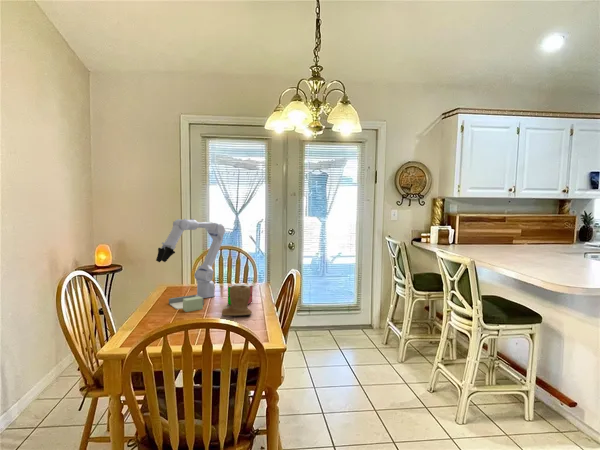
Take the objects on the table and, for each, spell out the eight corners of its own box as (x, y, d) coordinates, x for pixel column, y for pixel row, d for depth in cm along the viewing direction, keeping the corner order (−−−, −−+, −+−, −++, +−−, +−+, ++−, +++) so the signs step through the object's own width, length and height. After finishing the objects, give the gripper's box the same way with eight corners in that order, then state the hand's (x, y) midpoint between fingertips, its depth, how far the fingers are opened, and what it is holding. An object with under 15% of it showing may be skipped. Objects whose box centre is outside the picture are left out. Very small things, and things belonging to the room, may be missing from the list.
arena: (194, 299, 221) (194, 294, 221) (203, 305, 212) (203, 299, 212) (168, 304, 212) (168, 298, 212) (176, 309, 203) (176, 304, 203)
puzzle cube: (252, 302, 219) (252, 285, 218) (242, 307, 210) (243, 289, 209) (237, 300, 224) (237, 283, 223) (227, 304, 214) (227, 286, 214)
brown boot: (250, 310, 205) (251, 282, 204) (252, 317, 193) (253, 288, 192) (221, 311, 202) (221, 283, 201) (221, 318, 190) (221, 288, 189)
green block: (199, 307, 209) (199, 296, 208) (202, 309, 205) (202, 298, 204) (182, 309, 203) (182, 298, 202) (186, 312, 199) (186, 300, 199)
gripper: (161, 235, 212) (148, 257, 207) (171, 234, 201) (158, 257, 196) (172, 242, 216) (160, 264, 211) (183, 241, 205) (170, 264, 200)
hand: (160, 261), depth 203 cm, fingers open, 7 cm apart
